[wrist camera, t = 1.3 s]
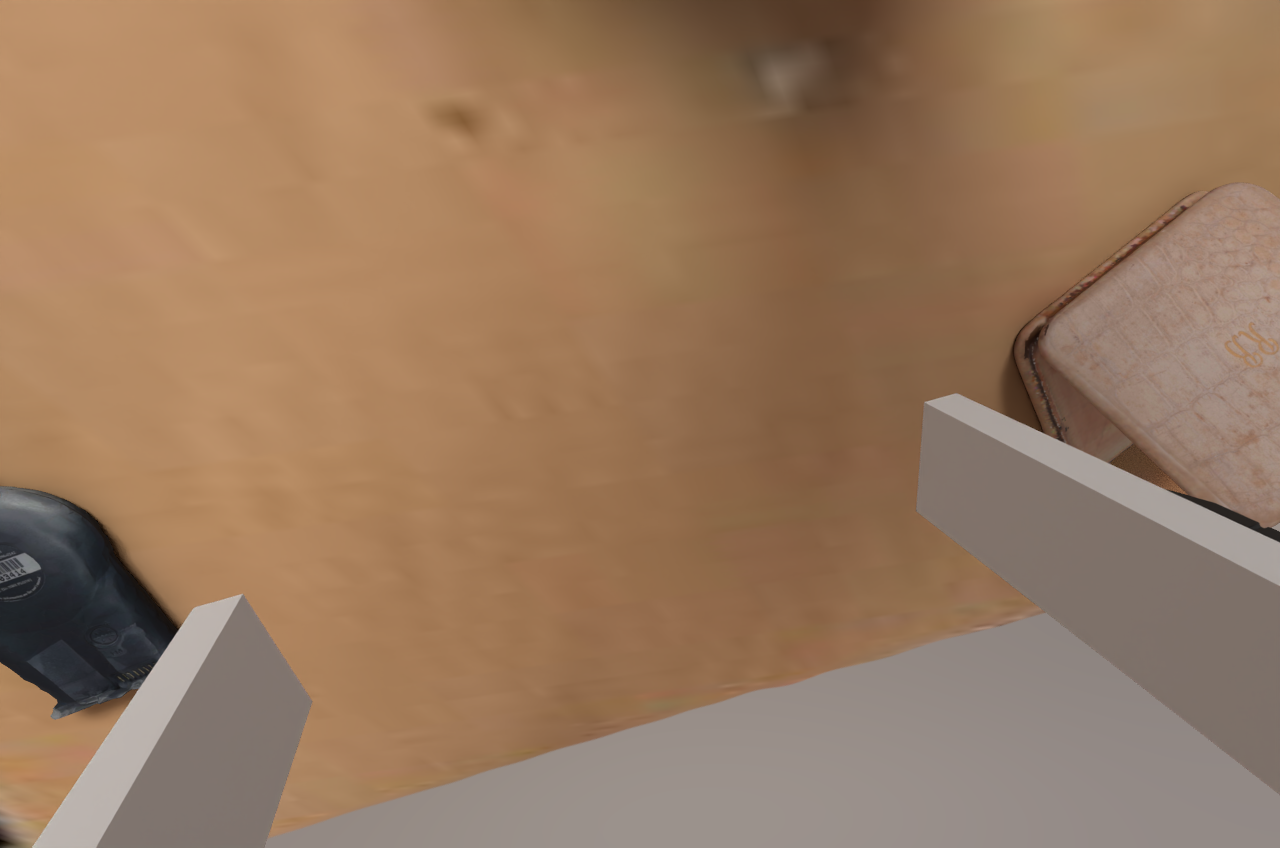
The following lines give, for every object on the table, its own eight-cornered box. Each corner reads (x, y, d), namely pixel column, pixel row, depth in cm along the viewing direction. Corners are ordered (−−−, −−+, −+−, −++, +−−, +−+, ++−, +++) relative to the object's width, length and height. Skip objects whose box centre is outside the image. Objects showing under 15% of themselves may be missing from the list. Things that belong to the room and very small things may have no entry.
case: (1204, 167, 44) (1541, 162, 30) (1229, 357, 54) (1493, 421, 40) (996, 330, 46) (1224, 398, 32) (1056, 486, 55) (1252, 593, 41)
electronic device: (225, 613, 40) (48, 458, 31) (186, 685, 35) (-34, 526, 27) (102, 650, 40) (-109, 505, 31) (47, 727, 35) (-218, 582, 27)
